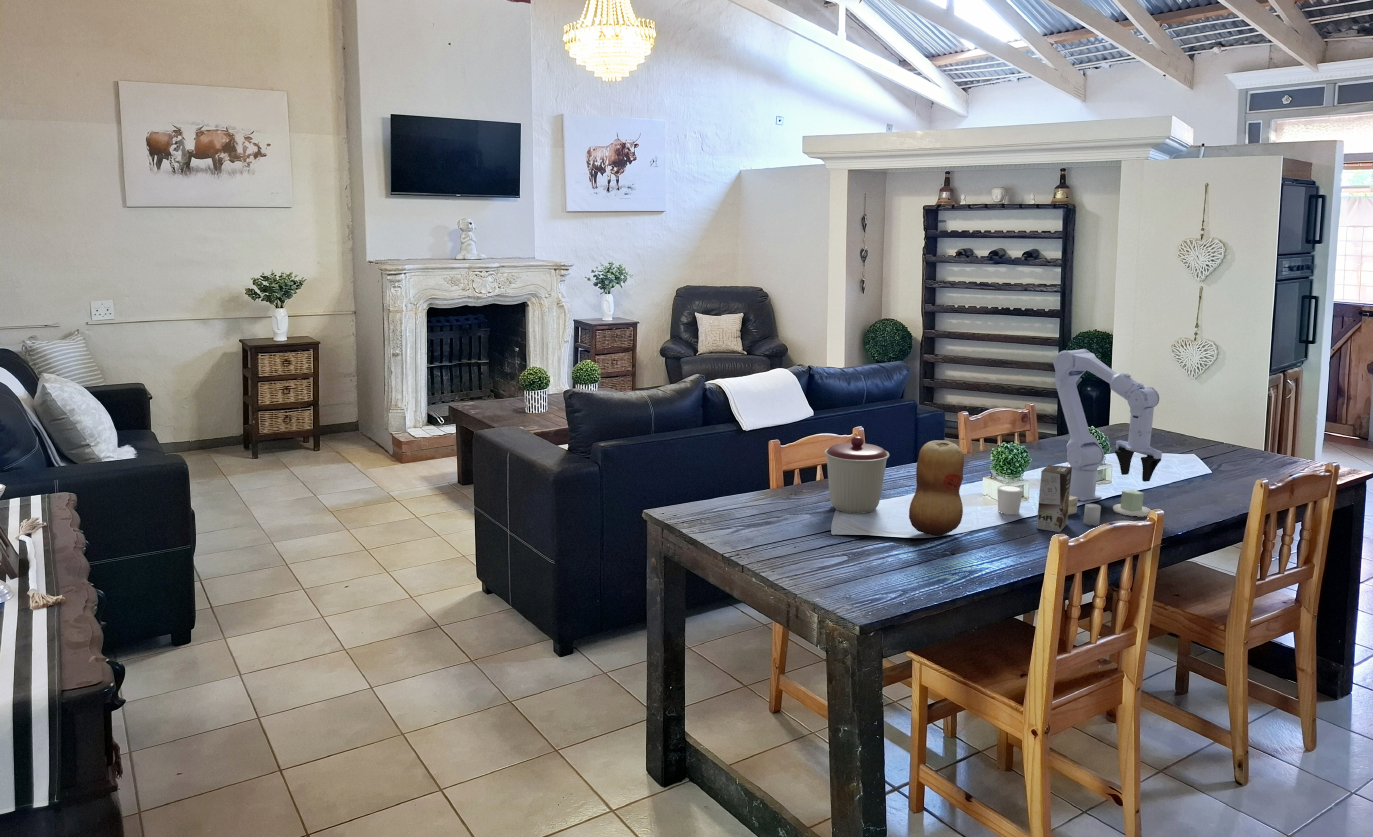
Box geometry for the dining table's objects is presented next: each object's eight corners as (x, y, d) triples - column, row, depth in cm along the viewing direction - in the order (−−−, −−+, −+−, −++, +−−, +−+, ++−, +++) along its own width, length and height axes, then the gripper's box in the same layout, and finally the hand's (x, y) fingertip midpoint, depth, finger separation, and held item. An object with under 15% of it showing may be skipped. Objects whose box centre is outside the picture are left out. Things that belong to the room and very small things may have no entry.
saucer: (1104, 508, 291) (1105, 506, 291) (1131, 504, 295) (1131, 502, 295) (1132, 518, 282) (1132, 515, 282) (1159, 514, 286) (1159, 511, 286)
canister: (898, 508, 290) (902, 436, 285) (863, 522, 277) (866, 447, 272) (845, 496, 302) (848, 426, 297) (809, 508, 289) (812, 436, 284)
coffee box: (1060, 532, 269) (1065, 474, 266) (1035, 528, 273) (1040, 470, 269) (1068, 524, 277) (1073, 466, 273) (1043, 520, 280) (1048, 463, 277)
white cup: (1008, 516, 283) (1010, 492, 281) (990, 510, 289) (992, 486, 287) (1026, 513, 286) (1028, 489, 285) (1008, 507, 292) (1010, 483, 290)
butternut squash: (928, 545, 258) (934, 450, 253) (898, 530, 270) (902, 438, 265) (972, 539, 264) (979, 445, 258) (940, 524, 276) (946, 434, 270)
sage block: (1120, 507, 289) (1122, 490, 288) (1130, 506, 291) (1132, 489, 290) (1131, 511, 286) (1133, 494, 285) (1141, 510, 287) (1143, 493, 286)
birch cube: (1053, 511, 288) (1054, 496, 287) (1062, 509, 291) (1063, 493, 290) (1067, 515, 285) (1068, 500, 284) (1076, 512, 287) (1077, 497, 287)
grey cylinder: (1080, 522, 279) (1081, 504, 278) (1091, 520, 280) (1093, 503, 279) (1091, 526, 275) (1092, 508, 274) (1102, 524, 277) (1104, 507, 276)
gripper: (1109, 426, 289) (1105, 472, 292) (1150, 437, 276) (1145, 485, 279) (1128, 424, 292) (1123, 470, 294) (1169, 435, 279) (1164, 483, 281)
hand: (1135, 477), depth 287 cm, fingers open, 7 cm apart
